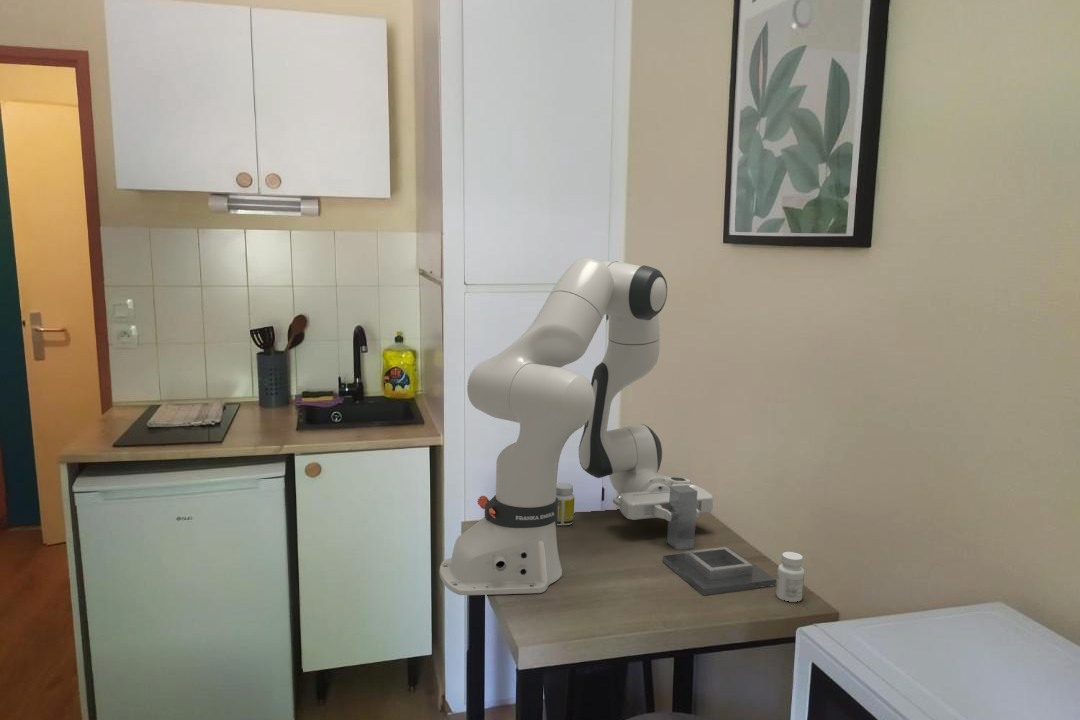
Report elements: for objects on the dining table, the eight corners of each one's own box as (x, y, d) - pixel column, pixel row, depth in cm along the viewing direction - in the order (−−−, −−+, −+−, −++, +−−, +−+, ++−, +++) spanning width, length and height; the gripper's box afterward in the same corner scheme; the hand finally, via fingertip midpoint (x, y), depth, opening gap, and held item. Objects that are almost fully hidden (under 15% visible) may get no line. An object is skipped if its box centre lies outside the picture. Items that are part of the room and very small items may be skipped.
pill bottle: (807, 599, 133) (811, 557, 132) (790, 605, 131) (794, 562, 130) (787, 589, 137) (790, 548, 136) (770, 594, 134) (773, 553, 133)
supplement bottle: (574, 519, 168) (575, 483, 167) (573, 527, 164) (574, 489, 163) (552, 518, 169) (553, 481, 168) (550, 525, 164) (552, 488, 163)
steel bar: (676, 550, 153) (679, 492, 151) (666, 542, 157) (670, 486, 155) (693, 548, 154) (697, 491, 153) (684, 540, 158) (687, 485, 156)
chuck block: (703, 595, 133) (704, 579, 133) (662, 561, 147) (663, 546, 147) (775, 585, 138) (776, 570, 138) (729, 553, 152) (730, 539, 152)
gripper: (610, 484, 163) (638, 505, 150) (694, 477, 170) (728, 497, 157) (608, 512, 164) (637, 535, 151) (692, 505, 171) (726, 526, 158)
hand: (684, 516), depth 154 cm, fingers closed on steel bar, 4 cm apart
